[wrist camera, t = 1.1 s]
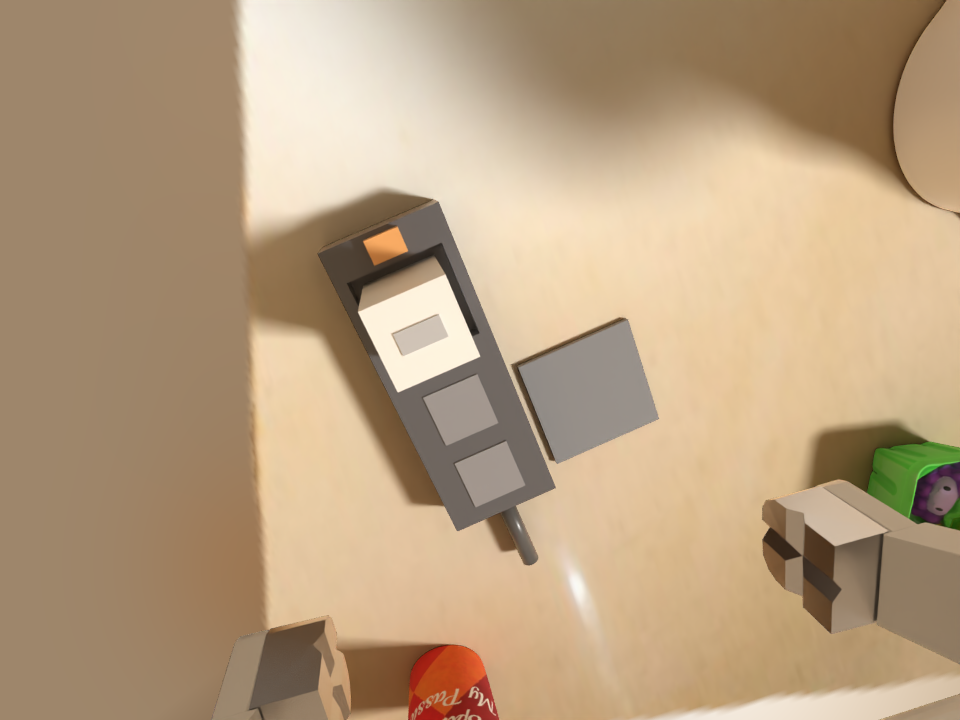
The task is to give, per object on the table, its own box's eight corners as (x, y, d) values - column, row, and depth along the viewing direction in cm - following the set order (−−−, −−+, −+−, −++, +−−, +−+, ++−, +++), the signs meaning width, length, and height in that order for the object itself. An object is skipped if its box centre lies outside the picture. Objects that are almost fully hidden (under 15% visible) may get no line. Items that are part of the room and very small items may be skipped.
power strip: (434, 199, 34) (439, 202, 30) (570, 529, 43) (586, 561, 39) (323, 246, 34) (315, 255, 30) (483, 568, 43) (492, 604, 39)
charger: (433, 254, 33) (445, 274, 27) (462, 322, 35) (480, 357, 28) (363, 284, 33) (357, 312, 27) (395, 351, 35) (397, 393, 28)
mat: (625, 318, 38) (627, 319, 38) (656, 416, 41) (658, 418, 41) (517, 365, 38) (518, 367, 38) (555, 461, 41) (557, 463, 41)
